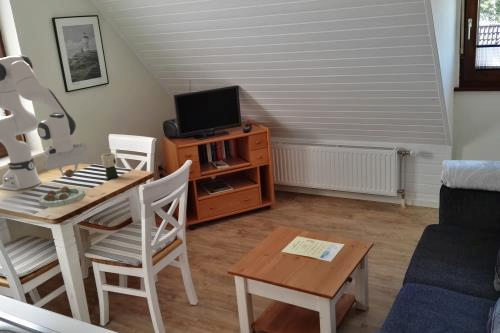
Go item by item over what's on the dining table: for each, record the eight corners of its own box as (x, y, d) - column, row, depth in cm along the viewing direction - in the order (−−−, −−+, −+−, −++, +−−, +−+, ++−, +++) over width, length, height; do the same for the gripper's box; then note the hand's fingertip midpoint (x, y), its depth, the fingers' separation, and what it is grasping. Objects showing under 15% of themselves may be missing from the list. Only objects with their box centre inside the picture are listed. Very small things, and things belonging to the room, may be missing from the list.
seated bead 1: (46, 199, 255) (44, 191, 253) (51, 196, 258) (50, 188, 257) (53, 199, 253) (51, 191, 252) (58, 196, 257) (56, 189, 256)
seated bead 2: (45, 203, 248) (43, 195, 247) (50, 200, 252) (48, 192, 251) (51, 203, 247) (49, 195, 246) (57, 200, 251) (55, 193, 249)
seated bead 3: (58, 202, 248) (56, 194, 247) (63, 199, 251) (62, 191, 250) (65, 202, 246) (63, 195, 245) (70, 199, 250) (68, 192, 249)
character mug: (119, 179, 278) (114, 155, 274) (105, 181, 276) (101, 158, 273) (118, 173, 288) (114, 151, 284) (105, 176, 286) (101, 153, 283)
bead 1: (68, 194, 257) (66, 187, 256) (60, 195, 257) (59, 188, 256) (71, 192, 261) (69, 185, 260) (63, 193, 261) (61, 185, 260)
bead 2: (67, 179, 251) (65, 171, 250) (65, 177, 254) (63, 169, 253) (75, 177, 253) (73, 169, 252) (73, 175, 256) (71, 167, 255)
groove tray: (30, 207, 248) (28, 202, 247) (59, 191, 267) (58, 187, 266) (65, 208, 241) (64, 203, 240) (93, 192, 260) (92, 187, 259)
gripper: (83, 141, 257) (89, 167, 260) (40, 150, 247) (47, 177, 251) (86, 143, 251) (92, 170, 255) (43, 152, 242) (49, 180, 246)
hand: (69, 174), depth 253 cm, fingers closed on bead 2, 4 cm apart
